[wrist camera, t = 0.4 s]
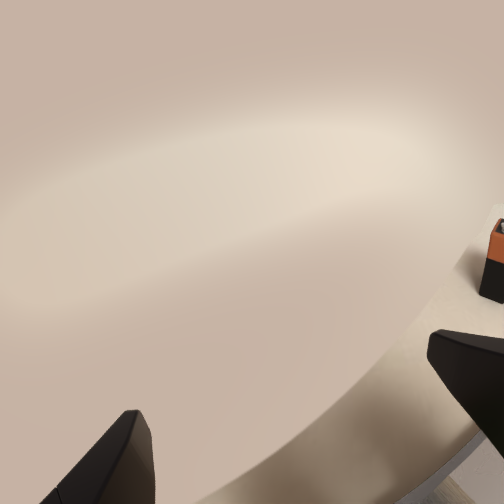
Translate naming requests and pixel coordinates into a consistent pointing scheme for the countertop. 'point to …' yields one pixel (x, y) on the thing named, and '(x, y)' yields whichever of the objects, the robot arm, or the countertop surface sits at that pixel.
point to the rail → (464, 478)
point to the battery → (494, 266)
